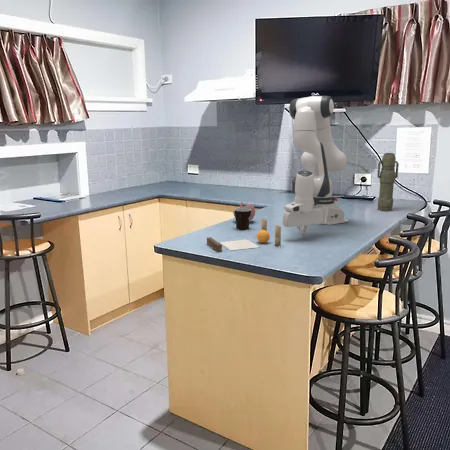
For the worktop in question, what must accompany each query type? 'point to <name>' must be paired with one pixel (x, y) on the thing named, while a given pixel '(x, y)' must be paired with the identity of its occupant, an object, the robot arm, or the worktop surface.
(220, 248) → the stopper wall
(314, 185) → the robot arm
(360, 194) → the worktop surface
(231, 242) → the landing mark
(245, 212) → the coffee mug
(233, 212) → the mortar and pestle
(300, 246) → the worktop surface
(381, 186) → the thermos
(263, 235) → the ball
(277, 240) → the post
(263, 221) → the post
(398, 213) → the worktop surface
